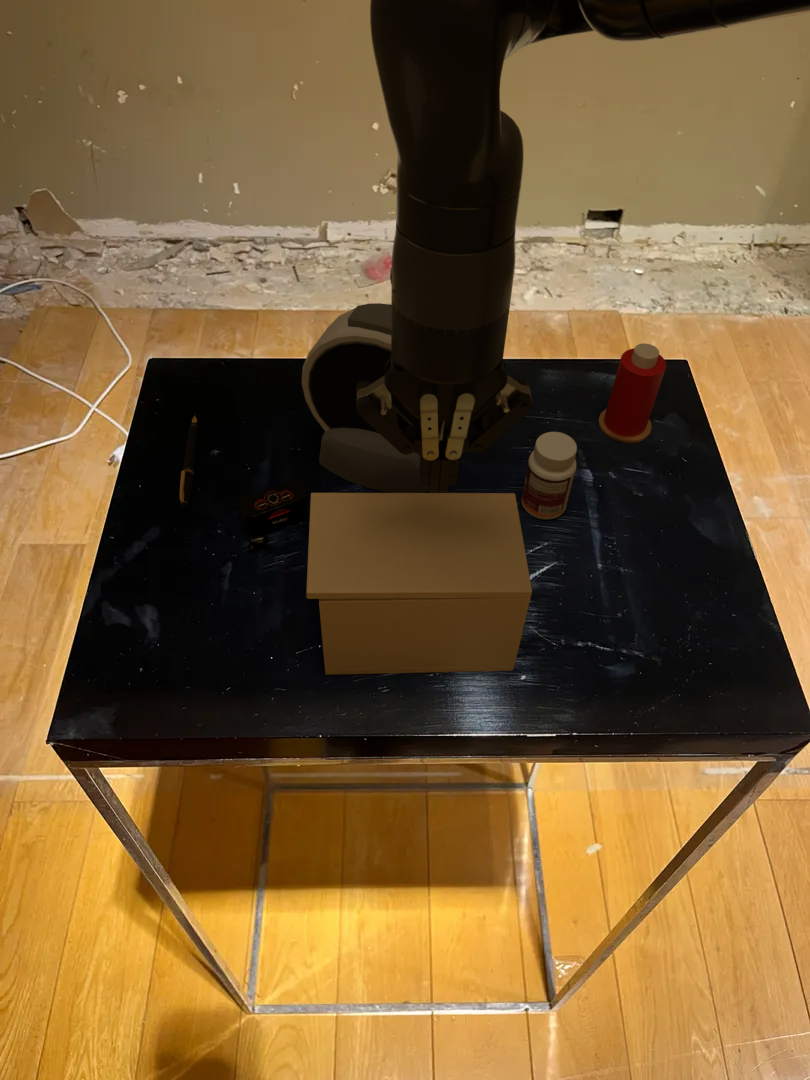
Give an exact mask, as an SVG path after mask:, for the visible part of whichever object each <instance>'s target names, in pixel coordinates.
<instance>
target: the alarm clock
mask: <svg viewBox="0 0 810 1080" xmlns="http://www.w3.org/2000/svg"><path fill="white" fill-rule="evenodd" d="M390 356H391V303H389V304H388V303H381V302H379V303H378V302H377V303H376V302H375V303H374V302H373V303H372V302H371V303H365V304H360V305H356V307H355V308H353V309H350V310H348V311H345V312H344V313H342V314H340V315H338V316H337V317H336V318H335V319H334V320H333V322H331V323H330V324H329V325H328V326H327V328H326V329H325V331H324V332H323V333H322V334H321V336H319V338H318V339H317V341H316V343H315V344H314V345H313V346H312V348H311V349H310V351H309V352H308V353H307V356H306V357H305V360H304V363H303V365H302V371H301V387H302V391H303V395H304V400H305V402H306V404H307V406H308V408H309V410H310V411H311V414H312V416H313V417H314V420H316V421H317V423H318V424H319V425H320V426H321V428H322V429H323V430H324V433H323V434H322V435H321V442H320V450H319V457H318V461H319V464H320V465H321V466H322V467H324V468H325V469H326V470H327V471H328V472H330V473H331V474H334V475H336V476H338V477H339V478H342V479H343V480H346V481H347V482H349V483H353V484H356V485H358V486H361V487H363V488H367V489H371V490H372V489H373V490H376V491H380V492H384V493H428V491H429V486H423V485H422V483H421V478H420V455H419V454H418V453H415V452H413V453H411V454H408V455H405V454H402V453H400V452H399V451H398V450H397V449H396V448H395V447H394V446H393V445H392V444H390V443H389V442H388V441H387V440H386V439H385V438H384V437H383V436H382V435H381V434H380V433H379V432H378V431H376V430H375V429H374V428H373V427H372V426H371V425H370V424H369V423H368V422H367V421H366V420H365V419H364V418H362V417H361V416H360V415H359V414H358V412H357V393H356V387H357V384H358V383H360V382H362V381H368V382H370V383H374V382H375V381H377V380H378V379H380V378H381V377H383V376H384V367H385V364H386V363H387V361H388V360H389V358H390ZM390 395H391V403H392V404H393V405H394V406H395V407H396V408H397V409H398V410H399V411H400V412H401V413H402V414H403V415H404V416H405V417H406V418H407V419H408V420H409V421H410V422H411V423H412V424H413V427H417V428H420V420H418V419H416V418H414V417H413V416H411V415H410V414H409V412H408V411H407V410H406V409H405V408H404V407H403V406H402V405H401V404H400V403H399V402H398V401H397V400H396V398H395V397H394V396H393V395H392V394H390ZM444 423H445V421H442V422H438V433H439V438H438V440H442V439H443V429H444Z"/></svg>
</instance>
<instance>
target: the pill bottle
mask: <svg viewBox="0 0 810 1080" xmlns="http://www.w3.org/2000/svg"><path fill="white" fill-rule="evenodd" d="M577 452H578V446H577V443H576V441H575V440H574V439H573V438H572V437H571V436H570V435H568V434H566V433H563V432H561V431H560V432H559V431H548V432H545V433H542V434H541V435H539V436H538V438H537V439H536V441H535V445H534V449H533V451H532V452H531V453H530V455H529V457H528V460H527V467H526V471H525V472H526V473H525V477H524V483H523V487H522V493H521V505H522V508H523V509H524V511H526V513H528V514H529V515H530V516H532V517H533V518H535V519H538V520H539V519H540V520H553V519H557V518H559V517H560V516H562V515H563V514H564V513H565V511H566V509H567V506H568V503H569V499H570V494H571V490H572V486H573V483H574V479H575V475H576V472H577V460H576V458H577V457H576V455H577Z"/></svg>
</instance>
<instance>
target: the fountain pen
mask: <svg viewBox="0 0 810 1080" xmlns="http://www.w3.org/2000/svg"><path fill="white" fill-rule="evenodd" d="M197 422H198V419H197V417H196V415H194V416H193V417H192V419H191V423H190V426H189V430H188V435H187V441H186V448H185V453H184V461H183V467H182V469H181V473H180V474H181V475H180V484H179V501H180V506H181V507H182V508H183V509H185V508H186V507H188V506H189V502H190V500H191V495H192V489H193V484H194V477H195V471H194V469H195V461H196V451H197V437H198V436H197V435H198V423H197Z"/></svg>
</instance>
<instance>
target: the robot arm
mask: <svg viewBox="0 0 810 1080" xmlns="http://www.w3.org/2000/svg"><path fill="white" fill-rule="evenodd" d="M369 7H370V8H369V24H370V35H371V36H370V37H371V45H372V50H373V55H374V56H373V57H374V61H375V66H376V70H377V75H378V79H379V84H380V88H381V93H382V97H383V101H384V105H385V111H386V115H387V120H388V123H389V126H390V131H391V135H392V138H393V141H394V144H395V148H396V153H397V165H396V215H395V216H396V219H395V220H396V221H395V232H394V239H393V244H392V253H391V267H390V273H389V274H390V275H389V280H390V285H391V291H390V292H391V293H390V294H391V296H390V297H391V299H390V300H391V303H390V304H391V356H390V358H389V360H388V361H387V363H386V364H385V367H384V376H383V377H381V378H380V379H378V380H377V381H375V382H374V383H370V382H368V381H362V382H360V383H358V384H357V387H356V393H357V412H358V414H359V415H360V416H361V417H362V418H364V419H365V420H366V421H367V422H368V423H369V424H370V425H371V426H372V427H373V428H374V429H375V430H376V431H378V432H379V433H380V434H381V435H382V436H383V437H384V438H385V439H386V440H387V441H388V442H389V443H390V444H392V445H393V446H394V447H395V448H396V449H397V450H398V451H399V452H400V453H402V454H405V455H408V454H411V453H413V452H415V453H418V454H419V455H420V478H421V483H422V485H423V486H429V489H428V491H429V492H428V493H449V486H455V485H456V484H457V482H458V479H459V477H458V476H459V466H460V459H461V457H462V455H463V454H465V453H466V452H471V453H473V454H481V453H483V452H485V451H486V450H487V449H489V448H490V447H491V446H492V445H493V444H494V443H496V441H498V440H499V439H500V438H501V437H502V436H504V435H505V434H506V433H507V432H508V431H510V429H512V428H513V427H514V426H515V425H516V424H518V422H520V421H521V420H522V419H523V418H524V417H526V416H527V415H528V414H529V413H530V412H531V411H532V410H533V408H534V403H533V397H532V392H531V388H530V387H529V382H528V381H527V380H526V379H525V378H517V379H514V378H512V377H511V376H510V375H509V374H508V372H507V365H506V362H505V360H504V355H505V347H506V346H505V345H506V340H507V339H506V338H507V333H508V332H507V330H508V323H509V317H510V309H511V300H512V293H513V285H514V278H515V270H516V230H517V221H518V214H519V205H520V197H521V190H522V182H523V173H524V162H525V161H524V159H525V158H524V157H525V156H524V155H525V154H524V153H525V152H524V138H523V135H522V132H521V129H520V127H519V125H518V124H517V123H516V121H515V120H514V119H513V118H512V117H511V116H510V115H509V114H507V113H506V112H504V111H503V110H501V79H502V74H503V69H504V63H505V60H507V59H508V58H510V57H512V56H513V55H514V54H516V53H517V52H519V51H520V50H521V49H523V48H525V47H528V46H531V45H534V44H537V43H540V42H543V41H548V40H550V39H555V38H560V37H564V36H571V35H579V34H584V33H592V32H596V33H597V34H598V35H599V36H600V37H602V38H604V39H606V40H610V41H612V42H617V43H618V42H619V43H635V42H637V43H638V42H649V41H655V40H656V41H657V40H662V39H665V38H668V39H669V38H675V37H680V36H687V35H692V34H698V33H705V32H710V31H716V30H721V29H727V28H733V27H739V26H743V25H749V24H754V23H759V22H765V21H771V20H776V19H781V18H789V17H794V16H799V15H806V14H810V0H370V6H369ZM390 394H392V395H393V396H394V397H395V398H396V400H397V401H398V402H399V403H400V404H401V405H402V406H403V407H404V408H405V409H406V410H407V411H408V412H409V414H410V415H411V416H413V417H414V418H416V419H418V420H420V428H417V427H413V424H412V423H411V422H410V421H409V420H408V419H407V418H406V417H405V416H404V415H403V414H402V413H401V412H400V411H399V410H398V409H397V408H396V407H395V406H394V405H393V404H392V403H391V395H390ZM442 421H445V423H444V429H443V439H442V440H438V438H439V433H438V422H442Z"/></svg>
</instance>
